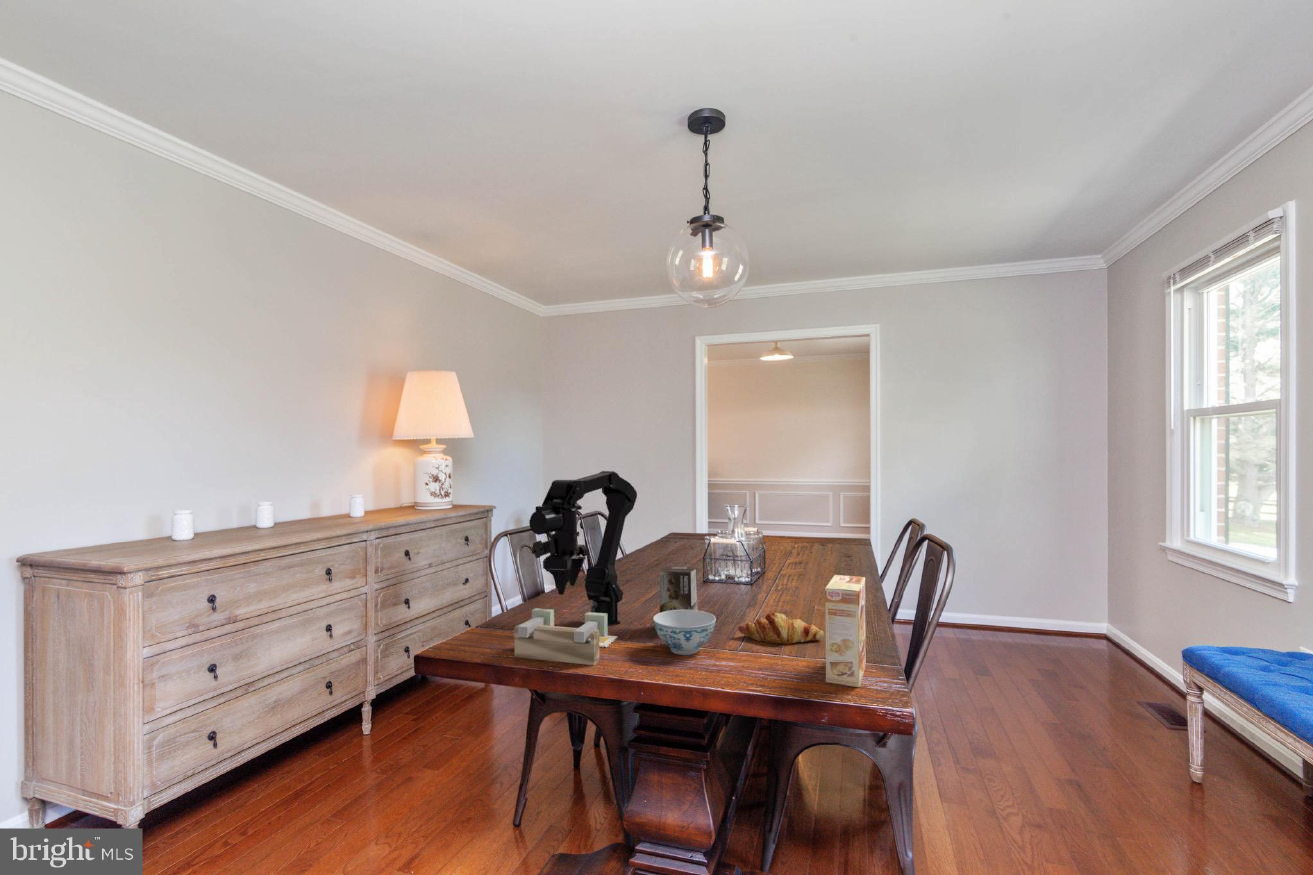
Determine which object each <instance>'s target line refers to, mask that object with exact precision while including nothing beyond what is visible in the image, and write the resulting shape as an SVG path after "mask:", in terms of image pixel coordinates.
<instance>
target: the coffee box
mask: <svg viewBox="0 0 1313 875" xmlns="http://www.w3.org/2000/svg"><path fill="white" fill-rule="evenodd" d="M658 584H659V586H658V589H659V613H661V612H665V611H671V610H697V611H699V610H698V568H697V567H691V566H689V567H688V566H686V567H685V566H667V565H666V566H664V567H663V568H661V569H660V570H659V571H658Z"/></svg>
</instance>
